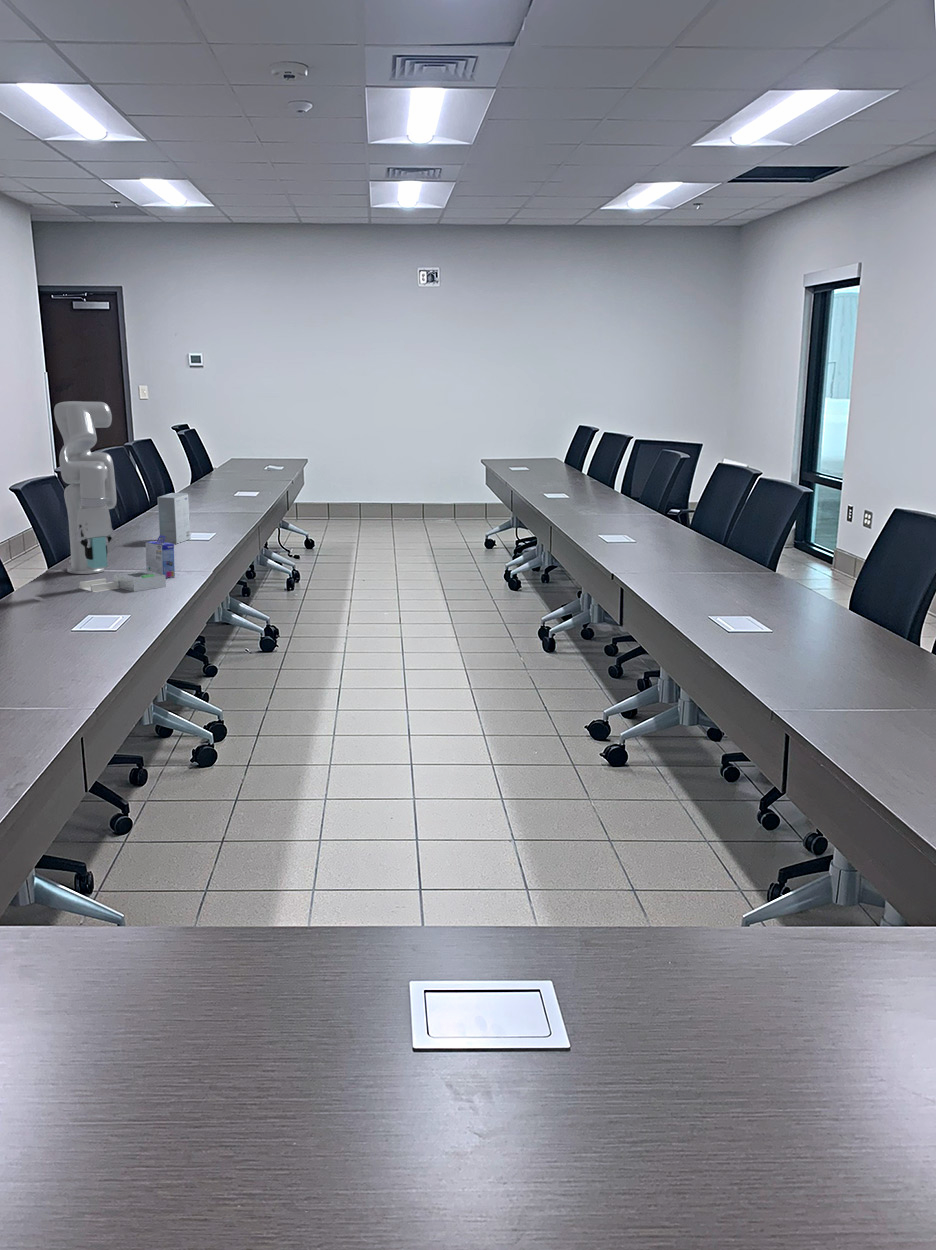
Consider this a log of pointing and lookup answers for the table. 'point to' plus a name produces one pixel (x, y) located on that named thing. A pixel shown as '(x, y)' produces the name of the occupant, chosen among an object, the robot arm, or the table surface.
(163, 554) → the ink cartridge box
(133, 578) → the port
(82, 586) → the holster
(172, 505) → the hard drive box
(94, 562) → the plug
